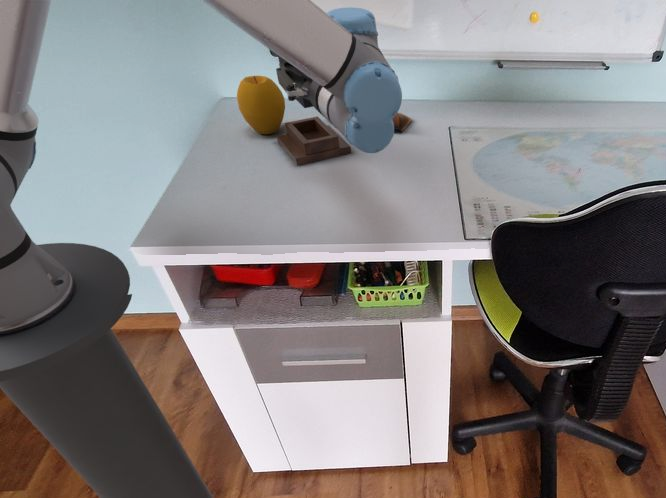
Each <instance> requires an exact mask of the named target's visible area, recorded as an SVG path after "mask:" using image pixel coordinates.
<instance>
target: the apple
mask: <svg viewBox="0 0 666 498" xmlns="http://www.w3.org/2000/svg"><path fill="white" fill-rule="evenodd" d="M236 99H237V105H238V110H239V111H240V114H241V116H242V117H243V119H244V120H245V122H246V123H247V124H248V125H249V126H250V128H252V129H253V130H254V131H255V132H256V133H258V134H260V135H273V134H275V133H276V132H278V130H279V129H280V127H281V125H282V123H283V120H284V117H285V111H286V101H285V97H284V94H283V92H282V90H281V88H280V87H279V86H278V85H277V84H276V83H275V81H274V80H273V79H272V78H270V77H268V76H264V75H250V76H246V77H244V78H243V79H241V81H240V82H239V84H238V87H237V91H236Z"/></svg>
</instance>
